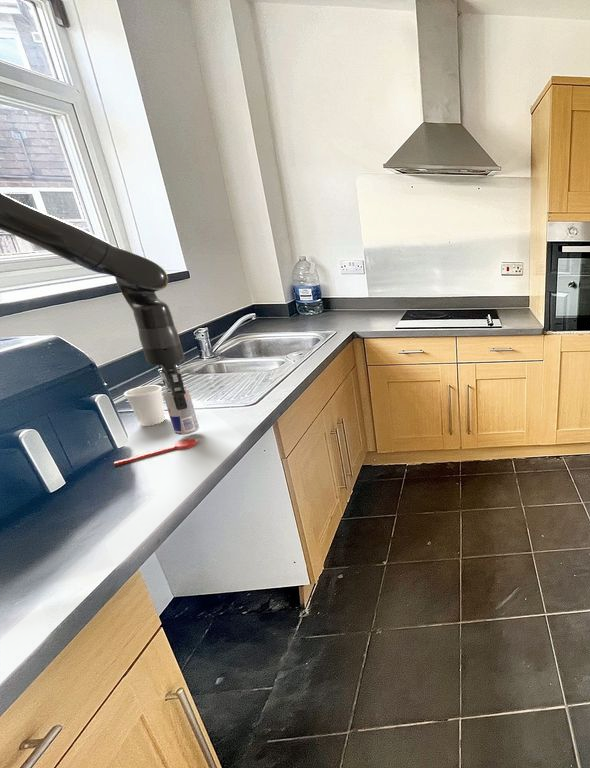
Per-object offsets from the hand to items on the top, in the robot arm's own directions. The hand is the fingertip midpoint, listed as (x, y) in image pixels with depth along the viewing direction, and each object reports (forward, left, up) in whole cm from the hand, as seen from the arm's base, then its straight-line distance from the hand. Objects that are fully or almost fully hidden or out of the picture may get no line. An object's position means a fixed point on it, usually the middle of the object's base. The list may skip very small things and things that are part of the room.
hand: (179, 405), depth 110 cm
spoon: (-3, -9, -9) cm, 13 cm away
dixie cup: (-14, +14, -9) cm, 21 cm away
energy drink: (0, 0, -8) cm, 8 cm away
